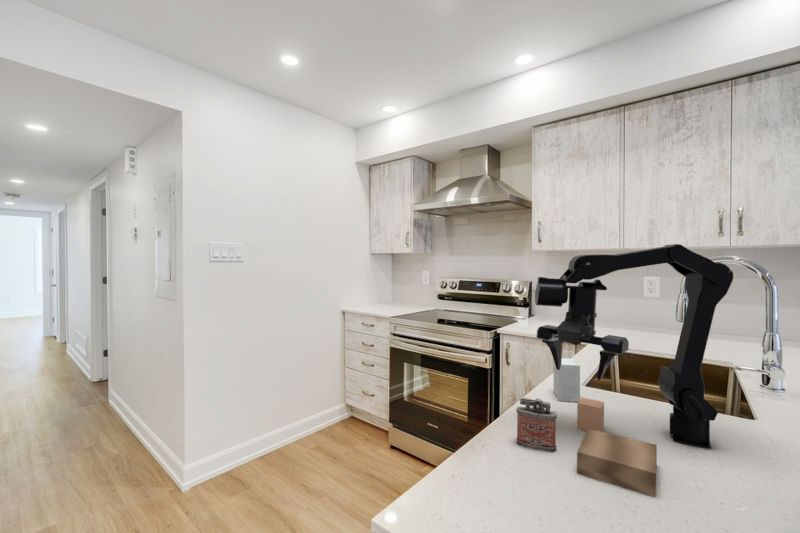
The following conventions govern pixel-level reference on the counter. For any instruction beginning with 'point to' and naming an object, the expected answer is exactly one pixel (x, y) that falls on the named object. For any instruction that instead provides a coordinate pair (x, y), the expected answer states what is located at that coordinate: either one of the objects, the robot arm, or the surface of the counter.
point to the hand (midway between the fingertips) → (578, 374)
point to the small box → (567, 380)
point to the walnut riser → (618, 461)
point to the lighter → (536, 425)
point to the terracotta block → (590, 414)
